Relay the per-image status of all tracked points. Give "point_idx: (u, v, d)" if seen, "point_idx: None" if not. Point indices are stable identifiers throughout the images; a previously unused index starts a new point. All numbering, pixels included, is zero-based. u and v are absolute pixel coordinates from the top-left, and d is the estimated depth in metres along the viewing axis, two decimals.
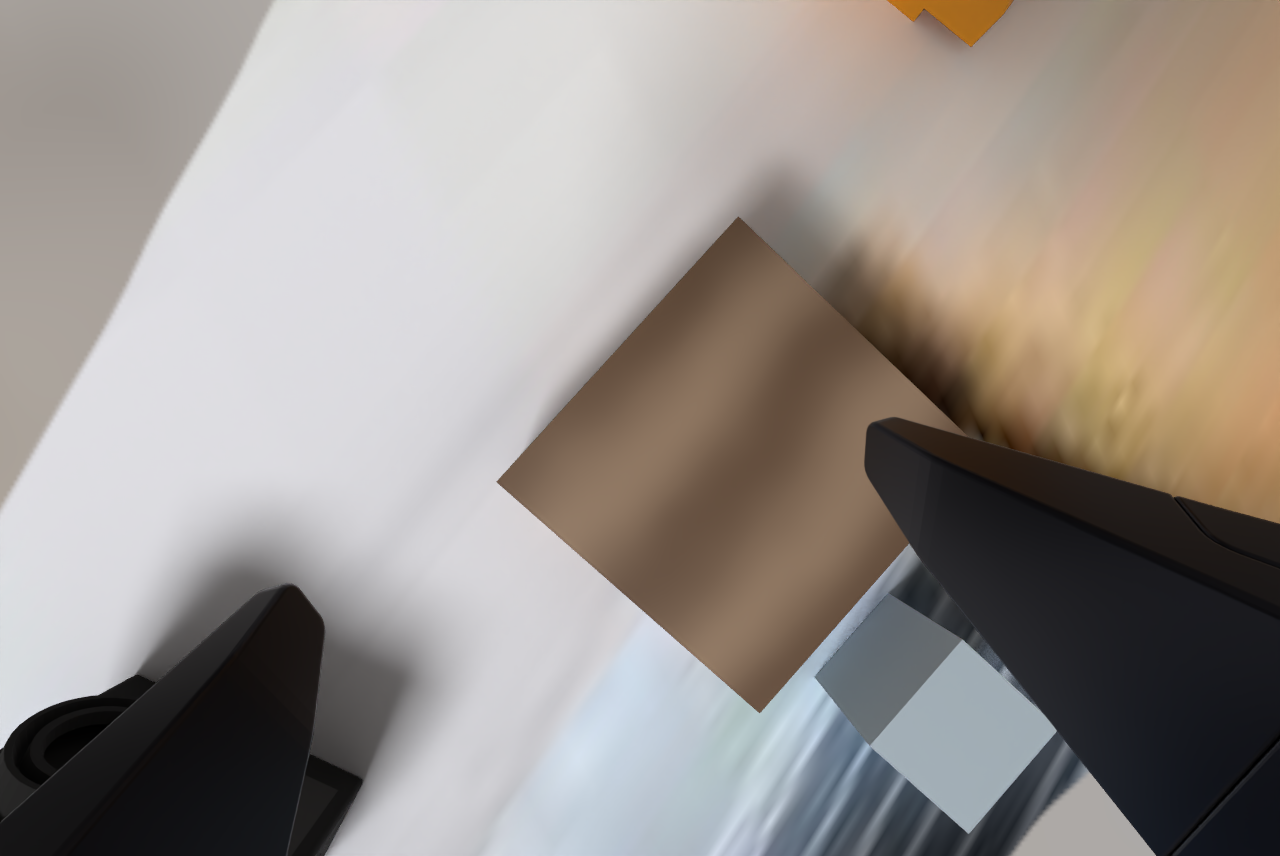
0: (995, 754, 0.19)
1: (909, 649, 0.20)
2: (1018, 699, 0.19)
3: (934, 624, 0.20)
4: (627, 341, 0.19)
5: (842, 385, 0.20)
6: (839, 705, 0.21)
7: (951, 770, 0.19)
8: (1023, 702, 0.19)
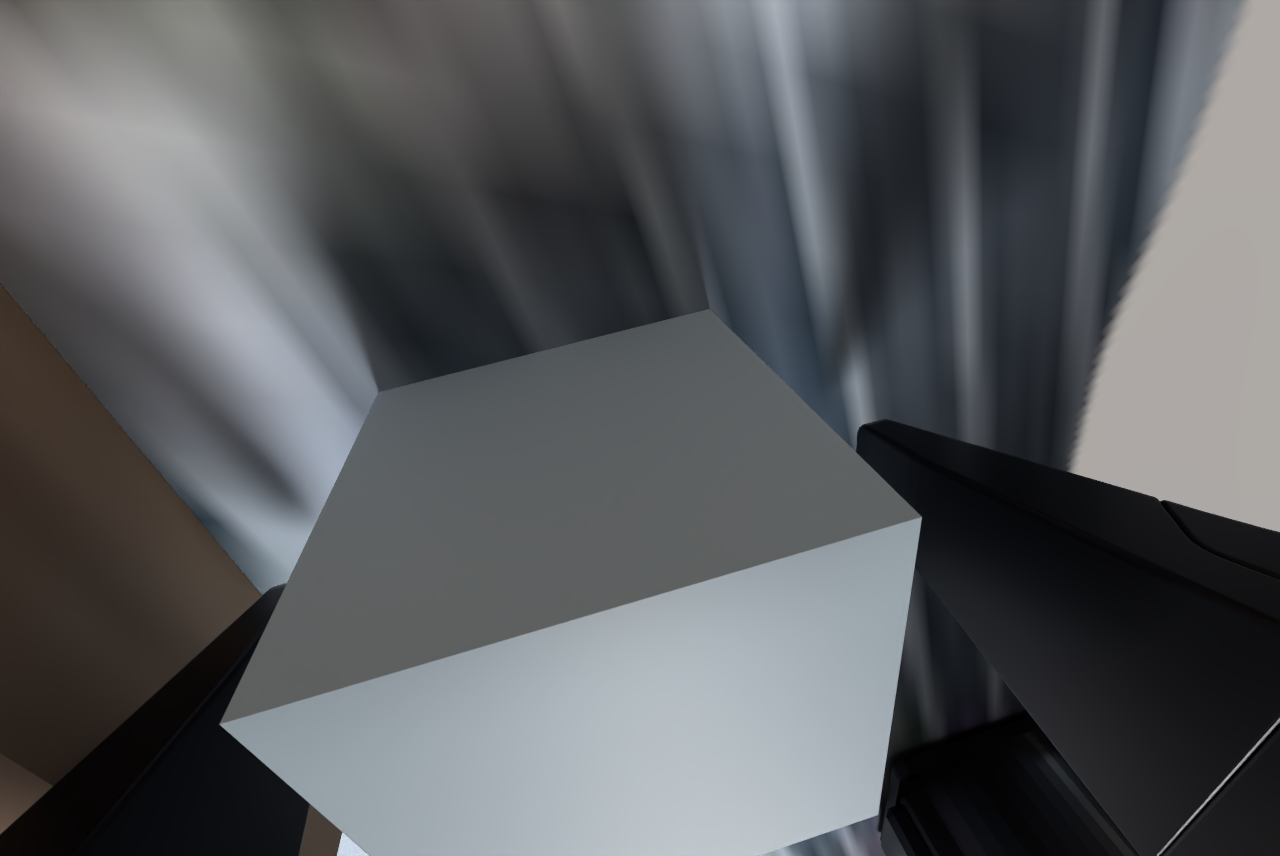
0: (777, 728, 0.05)
1: None
2: (671, 618, 0.04)
3: None
4: None
5: None
6: None
7: (705, 825, 0.06)
8: (700, 599, 0.04)
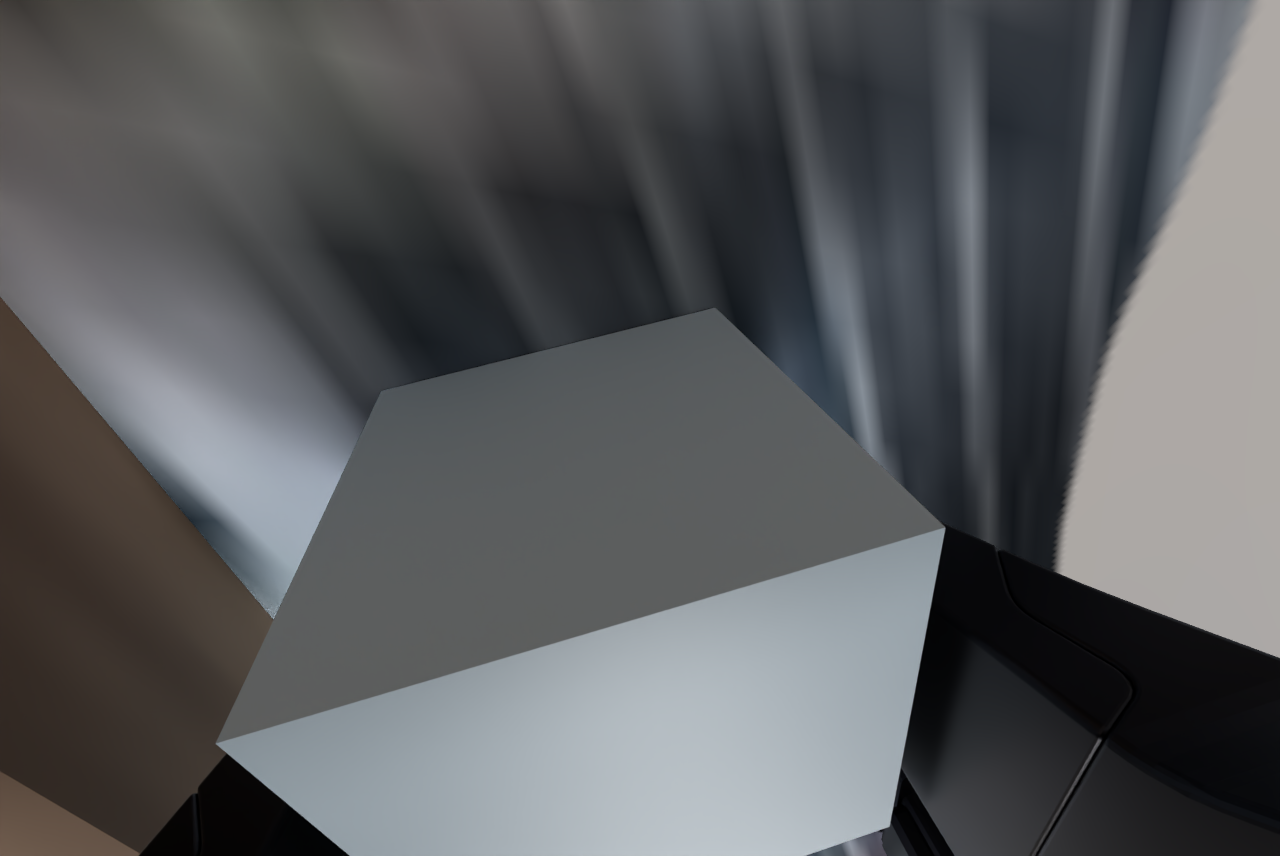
0: (790, 742, 0.05)
1: None
2: (685, 632, 0.04)
3: (303, 575, 0.05)
4: None
5: None
6: None
7: (716, 838, 0.06)
8: (716, 613, 0.04)
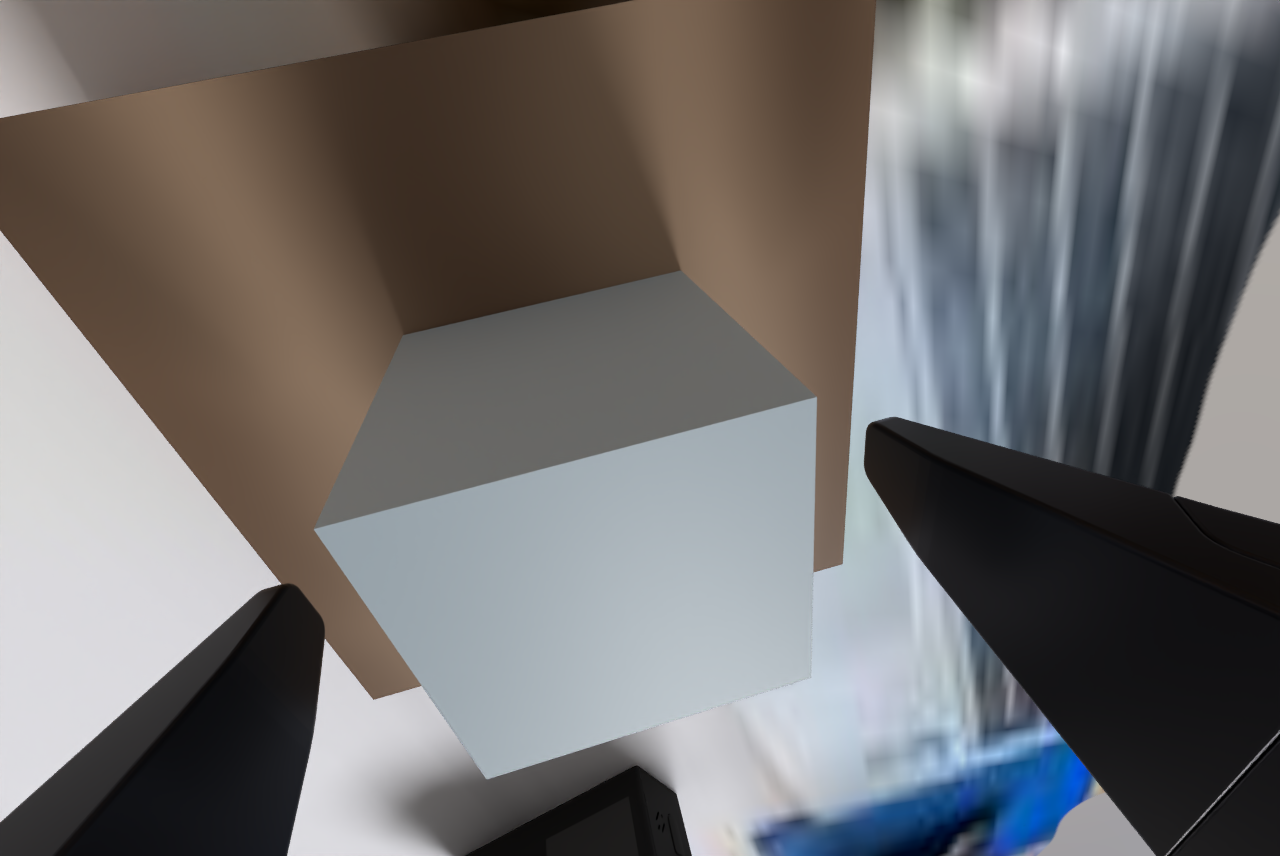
0: (721, 578, 0.06)
1: None
2: (635, 466, 0.05)
3: None
4: (218, 495, 0.10)
5: (515, 177, 0.08)
6: None
7: (668, 669, 0.07)
8: (657, 453, 0.05)
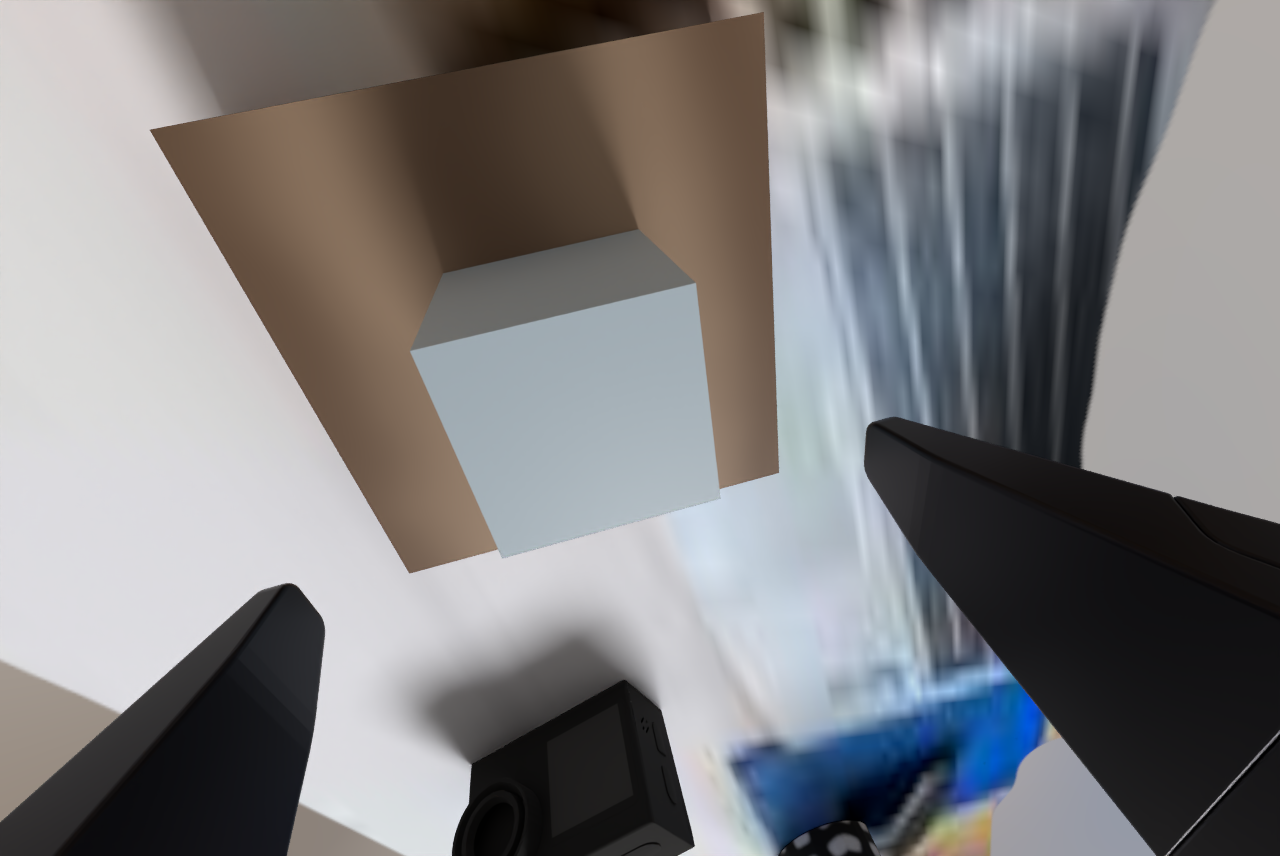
0: (649, 408, 0.10)
1: None
2: (590, 322, 0.09)
3: None
4: (307, 392, 0.14)
5: (521, 160, 0.12)
6: None
7: (620, 478, 0.11)
8: (603, 315, 0.09)
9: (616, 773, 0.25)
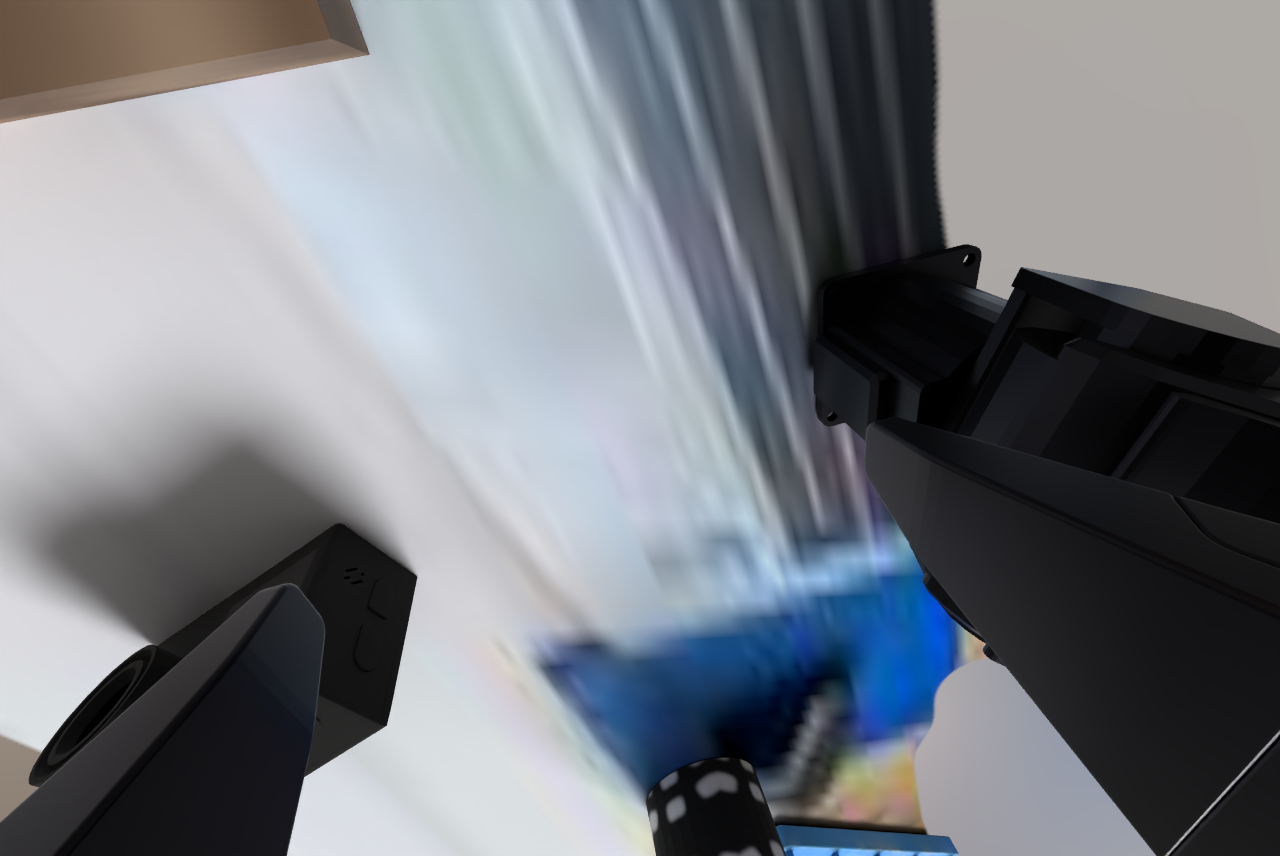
0: None
1: None
2: None
3: None
4: None
5: None
6: None
7: None
8: None
9: None
